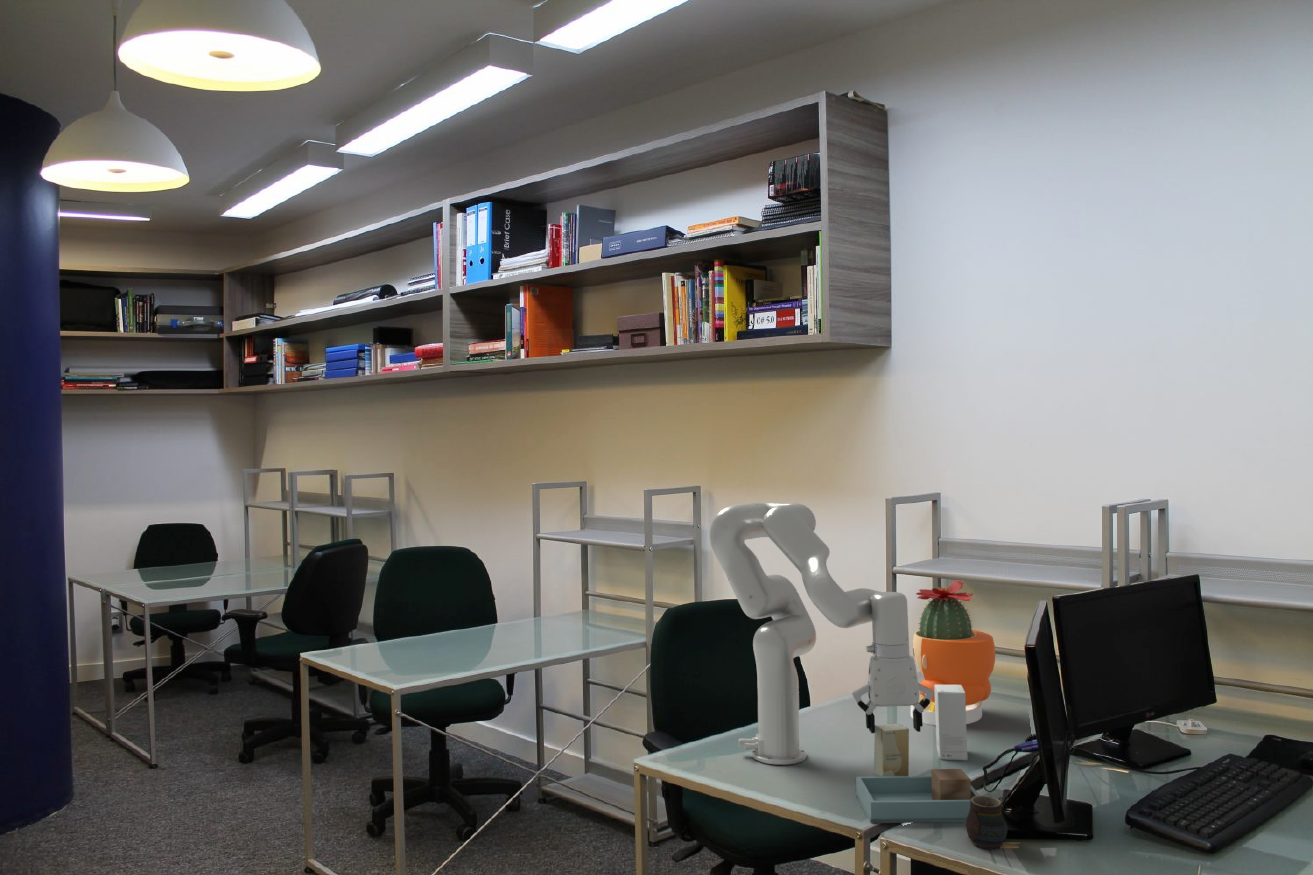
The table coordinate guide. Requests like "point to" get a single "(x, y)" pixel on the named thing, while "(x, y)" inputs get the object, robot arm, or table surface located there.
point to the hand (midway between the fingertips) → (894, 730)
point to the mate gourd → (986, 822)
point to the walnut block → (950, 785)
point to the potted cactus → (952, 651)
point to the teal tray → (907, 800)
